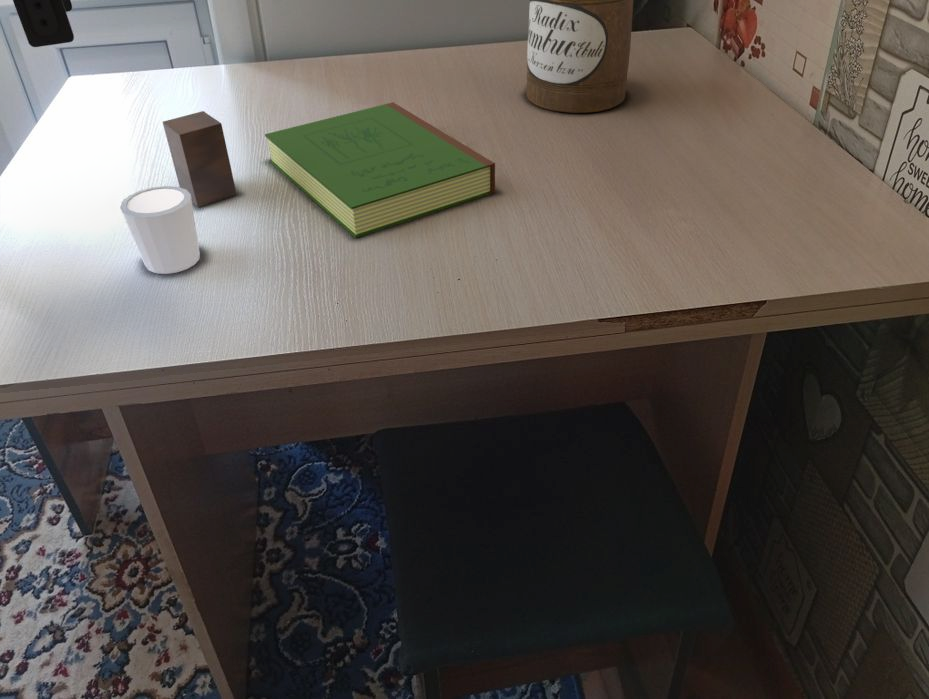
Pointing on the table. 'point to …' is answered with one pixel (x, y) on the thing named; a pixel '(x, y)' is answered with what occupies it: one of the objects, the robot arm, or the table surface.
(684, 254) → the table surface
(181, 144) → the walnut block
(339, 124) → the hardcover book
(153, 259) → the white cup
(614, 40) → the wooden container
